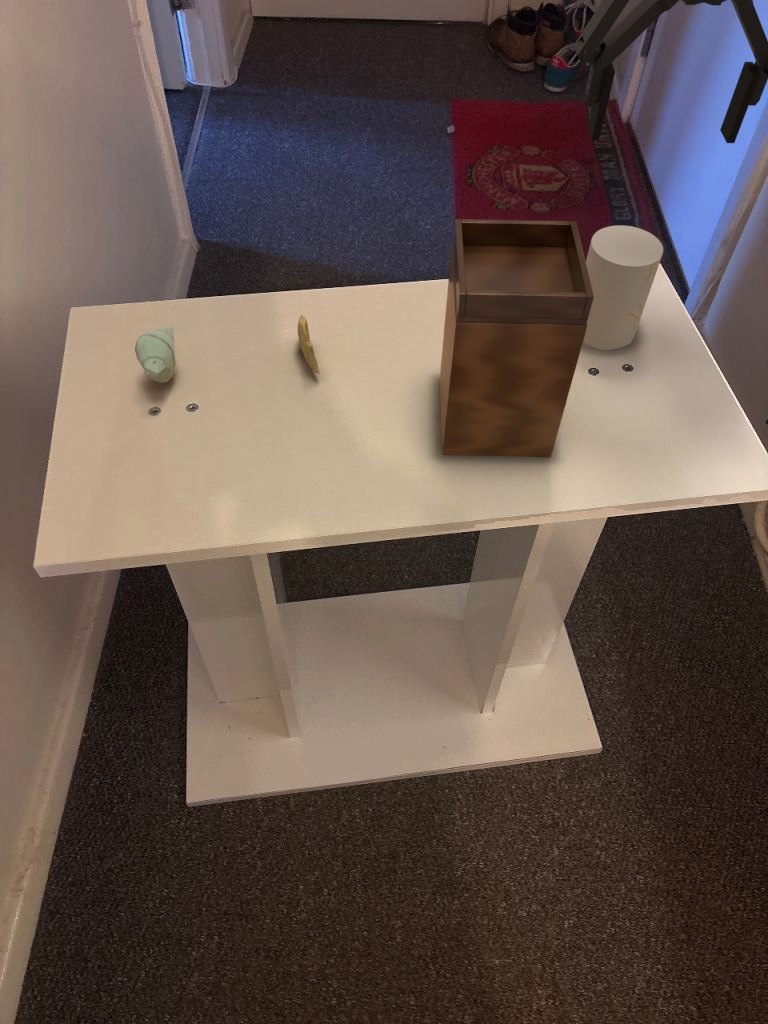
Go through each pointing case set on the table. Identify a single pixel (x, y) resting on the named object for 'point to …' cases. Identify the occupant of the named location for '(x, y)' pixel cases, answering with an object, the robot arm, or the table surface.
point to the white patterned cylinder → (619, 283)
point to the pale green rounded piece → (157, 353)
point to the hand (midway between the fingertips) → (659, 135)
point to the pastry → (307, 344)
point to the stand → (504, 383)
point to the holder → (520, 272)
